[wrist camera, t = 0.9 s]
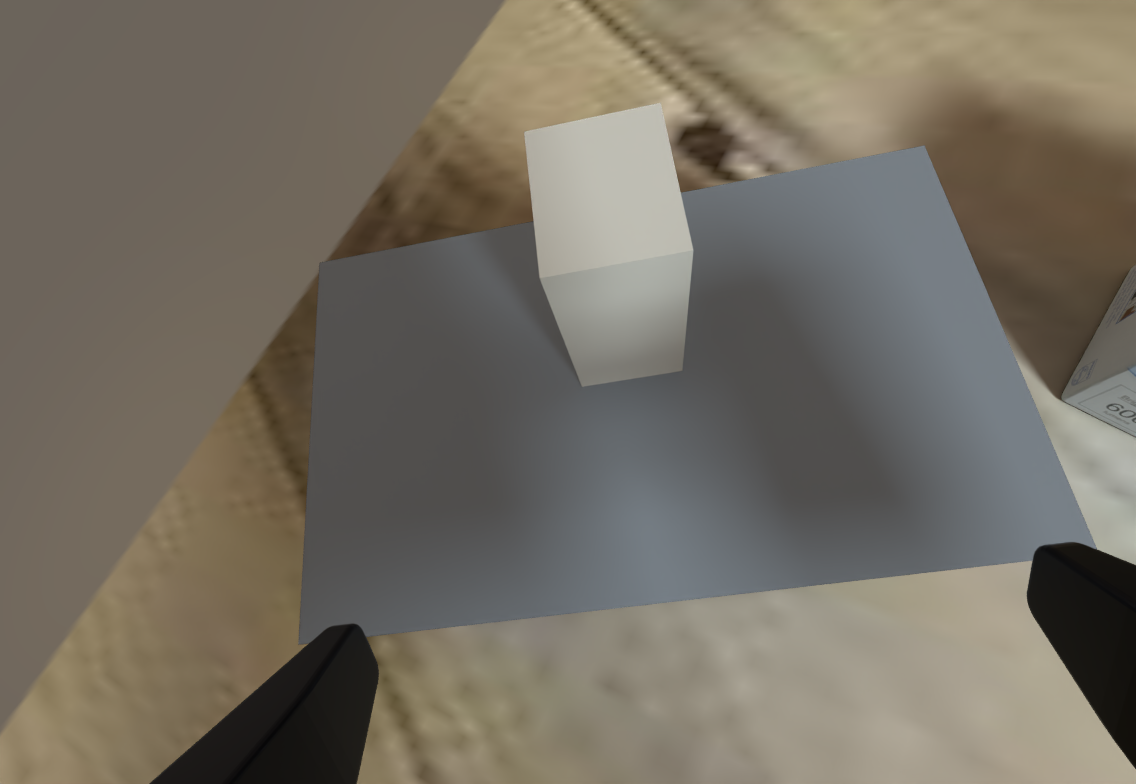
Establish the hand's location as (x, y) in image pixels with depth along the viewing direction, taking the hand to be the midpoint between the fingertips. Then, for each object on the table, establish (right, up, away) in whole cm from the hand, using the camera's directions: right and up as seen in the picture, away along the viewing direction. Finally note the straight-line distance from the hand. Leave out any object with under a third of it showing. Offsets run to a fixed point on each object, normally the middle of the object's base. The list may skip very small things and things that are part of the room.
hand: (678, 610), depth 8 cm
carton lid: (0, +3, +7) cm, 7 cm away
